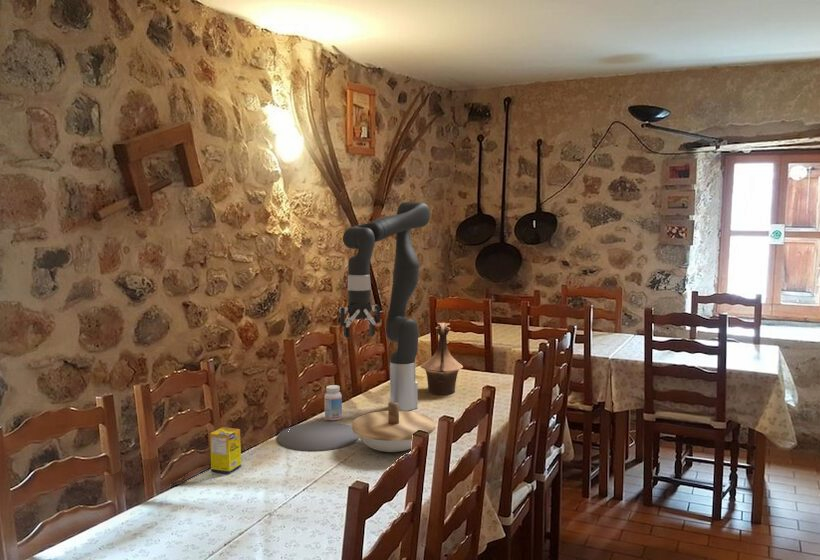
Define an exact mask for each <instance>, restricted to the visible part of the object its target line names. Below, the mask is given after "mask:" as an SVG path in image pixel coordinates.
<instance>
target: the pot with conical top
mask: <svg viewBox="0 0 820 560" xmlns="http://www.w3.org/2000/svg"><path fill="white" fill-rule="evenodd" d="M437 325H438V326H436V327H435V330H436V333H437V334H438V336H439V337H438V345H437V349H436V351H435V353H434V354H433V355H432V356H431V357H430V358H429V359H428V360H426V361H425V362H423V363H421V365H420V368H422V369H423V370H424V371H425V373H426V380H427V392H428V393H430V394H433V395H434V394H435V395H451V394H454V393H455V392H456V383H457V378H458V374H459V371H460V370H461V369H463V368H464V366H463V365H462V364H461V363H460V362H458V360H457V359H455V358H454V357H453V356H452V354H451V352H450V351H449V347H448V341H447V340H448V339H447V336H448V334H449V332H450V330H451V327H449V326H450V325H451V323H450V322H437Z"/></svg>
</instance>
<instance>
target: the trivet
mask: <svg viewBox="0 0 820 560" xmlns="http://www.w3.org/2000/svg"><path fill="white" fill-rule="evenodd" d="M289 429H290V430H289ZM288 431H289V432H288ZM277 436H278V437H276V439H277V443H278V444H279V443H280V445H281V446H282V447H285V448H288V449H291V450H295V451H302V452H303V451H304V452H322V451H323V452H324V451H331V450H332V451H333V450H338V449H342V448H345V447H347V446H350V445H353V444H354V443H356V442H357V441H359V439H360V437H359V436H357V435H356V434H355V433H354V432H353V430H352V425H349V424H346V423H341V422H333V421H332V422H330V421H328V422H327V421H324V422H322V421H318V422H315V421H314V422H308V423H307V422H306V423H301V424H297V425H293V426H290V427H288V428H285V429H283V430H281V431H280V432H279V433H278V434H277Z"/></svg>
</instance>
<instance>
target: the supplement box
mask: <svg viewBox="0 0 820 560" xmlns="http://www.w3.org/2000/svg"><path fill="white" fill-rule="evenodd" d="M209 446H210V447H209V449H210V470H211V471H210V472H212V471H213V473H221V474H227V475H230V474H231V473H234V472H235V471H237V470H238V469H240V468H242V452H241V450H242V448H241V428H240V429H239V428H232V427H231V428H230V427H224V426H223V427H219V428H217V429H216V430H214V431H212V432H210V433H209Z"/></svg>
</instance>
